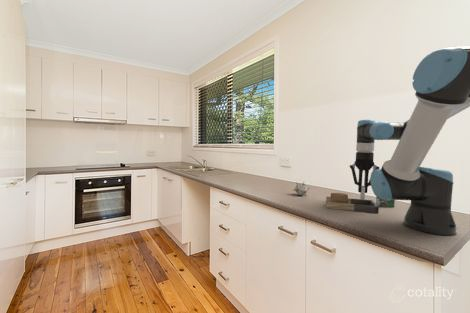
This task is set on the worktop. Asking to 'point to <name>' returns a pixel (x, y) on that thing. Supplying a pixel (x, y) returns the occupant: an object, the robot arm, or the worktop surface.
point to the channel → (354, 205)
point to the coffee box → (384, 202)
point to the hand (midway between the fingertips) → (362, 198)
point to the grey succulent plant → (301, 189)
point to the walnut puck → (339, 198)
